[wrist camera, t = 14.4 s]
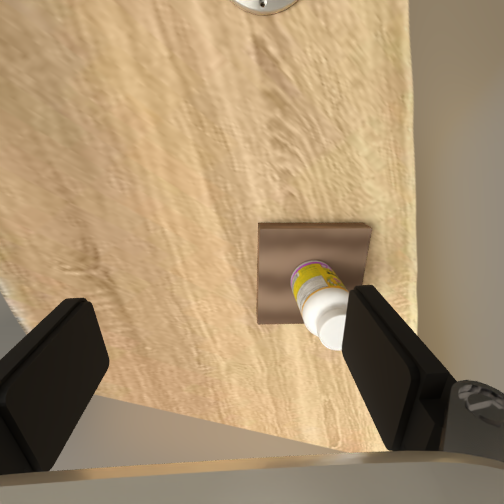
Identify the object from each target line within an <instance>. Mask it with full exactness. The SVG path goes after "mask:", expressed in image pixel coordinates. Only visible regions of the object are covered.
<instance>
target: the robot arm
mask: <svg viewBox="0 0 504 504" xmlns="http://www.w3.org/2000/svg"><path fill="white" fill-rule="evenodd" d="M230 1H231V2H232V3H233V4H234V5H236V6H237V7H239V8H241V9H242V10H244V11H247V12H250V13H253V14H258V15H269V14H276V13H278V12H281V11H283V10H285V9H287V8H288V7H290V6H291V5H293V4H294V3H295V2H296V1H297V0H230ZM261 4H264V5H265V7H261V6H260V5H261ZM342 354H343V357H344V359H345V361H346V364H347V366H348V368H349V370H350V372H351V374H352V376H353V379H354V381H355V383H356V385H357V387H358V389H359V391H360V394H361V396H362V398H363V400H364V402H365V404H366V406H367V409H368V411H369V413H370V415H371V417H372V419H373V421H374V424H375V426H376V428H377V430H378V432H379V434H380V436H381V439H382V441H383V443H384V445H385V447H386V448H387V449H388V450H389V451H386V452H359V453H337V454H319V455H301V456H285V457H266V458H248V459H232V460H215V461H200V462H183V463H168V464H151V465H137V466H121V467H107V468H91V469H76V470H62V471H49V470H50V469H51V468H52V467H53V465H54V464H55V462H56V460H57V458H58V457H59V455H60V453H61V451H62V450H63V448H64V446H65V444H66V442H67V441H68V439H69V437H70V435H71V433H72V432H73V429H74V428H75V426H76V424H77V423H78V421H79V419H80V417H81V415H82V414H83V412H84V410H85V409H86V407H87V405H88V403H89V401H90V400H91V398H92V396H93V394H94V393H95V391H96V389H97V387H98V385H99V384H100V382H101V380H102V378H103V377H104V375H105V373H106V371H107V369H108V367H109V356H108V353H107V350H106V347H105V344H104V340H103V337H102V334H101V331H100V327H99V324H98V321H97V318H96V315H95V311H94V308H93V305H92V303H91V302H88V301H87V300H86V299H85V298H68V299H65V300H63V301H62V302H61V303H60V304H59V305H58V306H57V307H56V308H55V309H54V310H53V311H52V312H51V313H50V314H49V315H47V316H46V317H45V318H44V319H43V320H42V321H41V322H40V323H39V324H38V325H37V326H36V327H35V328H34V329H33V330H32V331H31V332H29V333H28V334H27V335H26V336H25V337H24V338H23V339H22V340H21V341H20V342H19V343H18V344H17V345H16V346H15V347H14V348H13V349H11V350H10V351H9V352H8V353H7V354H6V355H5V356H4V357H3V358H2V359H1V360H0V504H504V393H502V392H501V391H499V390H497V389H495V388H493V387H491V386H489V385H487V384H484V383H481V382H478V381H470V380H463V381H458V382H457V381H456V380H455V379H454V378H453V376H452V375H451V374H450V373H449V371H448V370H447V369H446V368H445V367H444V366H443V365H442V363H441V362H440V361H439V360H438V359H437V358H436V357H435V355H434V354H433V353H432V352H431V351H430V350H429V349H428V347H427V346H426V345H425V344H424V343H423V342H422V341H421V340H420V338H419V337H418V336H417V335H416V334H415V333H414V332H413V330H412V329H411V328H410V327H409V326H408V325H407V324H406V322H405V321H404V320H403V319H402V318H401V317H400V316H399V314H398V313H397V312H396V311H395V310H394V309H393V308H392V307H391V305H390V304H389V303H388V302H387V301H386V300H385V299H384V297H383V296H382V295H381V294H380V293H379V292H378V291H377V290H376V288H375V287H374V286H373V285H359V286H355V287H354V290H350V292H349V297H348V304H347V311H346V319H345V326H344V333H343V341H342Z"/></svg>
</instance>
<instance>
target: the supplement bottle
mask: <svg viewBox="0 0 504 504" xmlns="http://www.w3.org/2000/svg"><path fill="white" fill-rule="evenodd" d="M291 288H292V291H293V294H294V297H295V299H296V302H297V305H298V307H299V310H300V313H301V315H302V318H303V321H304V323H305V326H306V327H307V329H308V330H309V331H310V332H311V333H313V334H314V335H316V336H318V337H319V338H320V340H321V342H322V344H323V345H324V346H325V347H327V348H329V349H331V350H342V341H343V333H344V326H345V319H346V311H347V304H348V297H349V291H348V290H347V289H346V287H345V286H344V285H343V283H342V282H341V280H340V279H339V278H338V276H337V275H336V274H335V273H334V271H333V270H332V269H331V268H330V267H329V266H328V265H327V264H326V263H324V262H321V261H316V260H314V261H307V262H304V263H302V264H301V265H299V266H298V267H297V268H296V269H295V271H294V272H293V274H292V276H291Z"/></svg>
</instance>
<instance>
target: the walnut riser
mask: <svg viewBox="0 0 504 504" xmlns="http://www.w3.org/2000/svg"><path fill="white" fill-rule="evenodd" d="M371 232H372V228H371V227H369V226H368V225H366V224H364V223H258V261H257V323H258V324H304V321H303V318H302V315H301V313H300V310H299V307H298V305H297V302H296V299H295V297H294V294H293V291H292V288H291V276H292V274H293V272H294V271H295V269H296V268H297V267H298V266H299V265H301V264H302V263H304V262H307V261H314V260H316V261H321V262H324V263H326V264H327V265H328V266H329V267H330V268H331V269H332V270H333V271H334V273H335V274H336V275H337V276H338V278H339V279H340V280H341V282H342V283H343V285H344V286H345V287H346V289H347V290H348V291H349V292H350V290H354V287H355V286H359V285H362V282H363V277H364V271H365V266H366V260H367V255H368V249H369V243H370V238H371Z"/></svg>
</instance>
